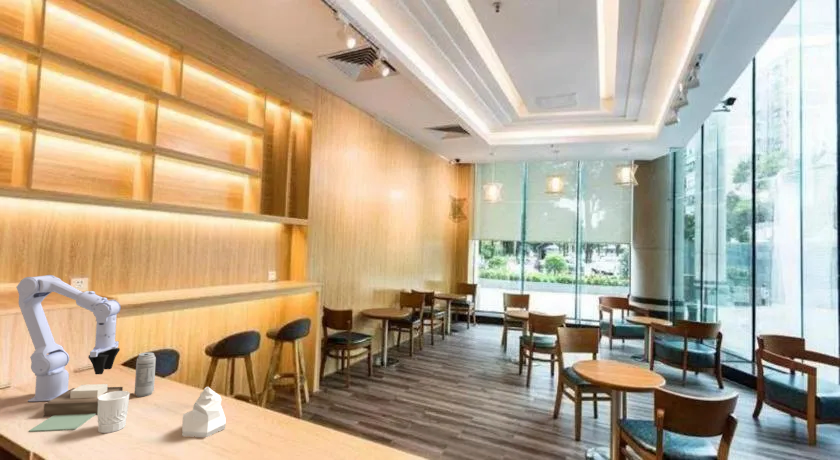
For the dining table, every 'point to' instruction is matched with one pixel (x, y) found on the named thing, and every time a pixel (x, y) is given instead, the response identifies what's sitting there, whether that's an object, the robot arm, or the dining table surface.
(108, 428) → the white cup
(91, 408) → the brown flat block
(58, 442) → the dining table surface
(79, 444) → the dining table surface
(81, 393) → the tile
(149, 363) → the energy drink can
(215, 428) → the white faceted lump
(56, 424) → the mat
